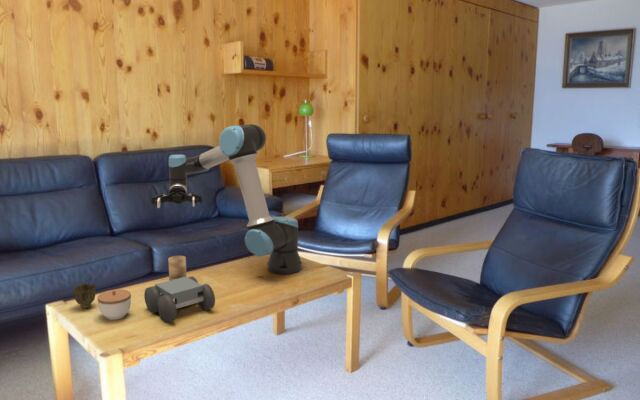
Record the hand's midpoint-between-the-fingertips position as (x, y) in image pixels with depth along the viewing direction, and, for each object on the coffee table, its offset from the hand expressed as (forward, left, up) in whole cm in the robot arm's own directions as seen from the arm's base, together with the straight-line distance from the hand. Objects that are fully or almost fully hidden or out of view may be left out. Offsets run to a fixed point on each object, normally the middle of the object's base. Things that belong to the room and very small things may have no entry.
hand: (176, 204), depth 210 cm
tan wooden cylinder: (+7, +12, -32) cm, 35 cm away
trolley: (+14, +27, -32) cm, 44 cm away
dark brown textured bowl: (+38, +3, -32) cm, 50 cm away
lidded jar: (+33, +17, -32) cm, 49 cm away
